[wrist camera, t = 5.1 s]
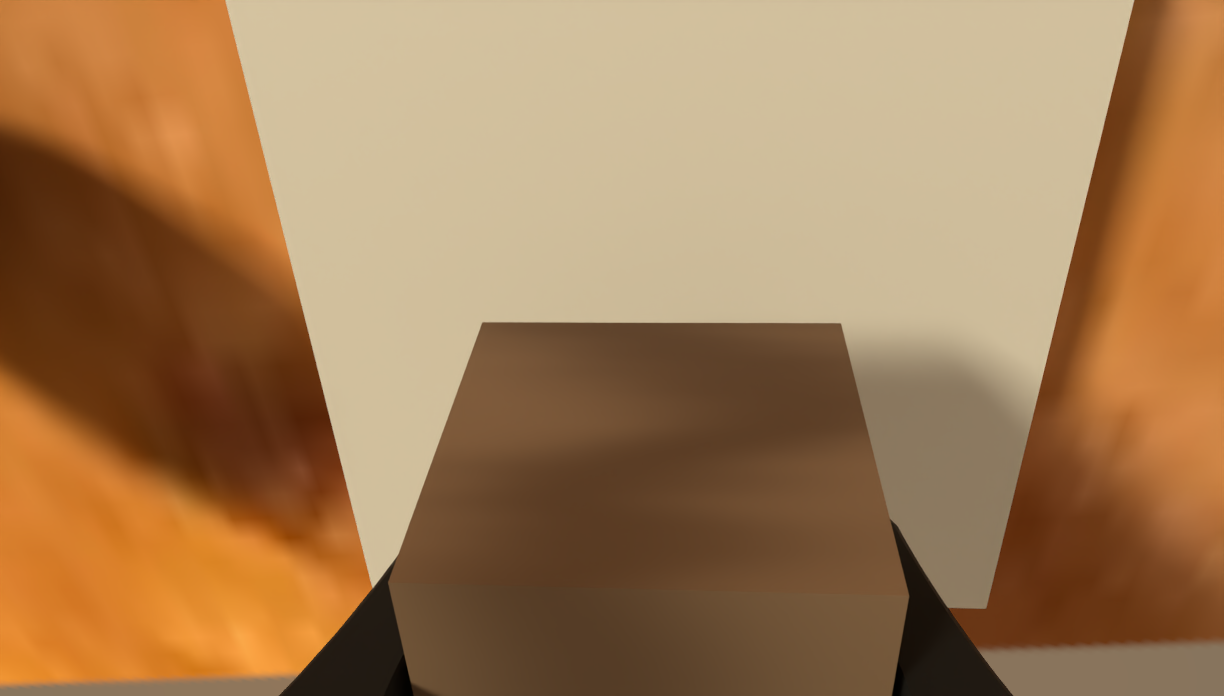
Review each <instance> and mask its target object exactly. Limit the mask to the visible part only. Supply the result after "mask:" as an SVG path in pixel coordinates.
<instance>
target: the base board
mask: <svg viewBox="0 0 1224 696" xmlns="http://www.w3.org/2000/svg"><path fill="white" fill-rule="evenodd" d="M225 1H226V5H227V9H228V13H229V17H230V21H231V25H232V29H233V33H234V37H235V41H236V45H237V49H238V53H239V57H240V61H241V65H242V69H243V73H244V77H245V81H246V85H247V89H248V93H249V97H250V101H251V105H252V109H253V113H254V117H255V121H256V125H257V129H258V133H259V137H260V141H261V145H262V149H263V153H264V157H265V161H266V165H267V169H268V173H269V177H270V181H271V185H272V189H273V193H274V197H275V201H276V205H277V209H278V213H279V217H280V221H281V225H282V229H283V233H284V237H285V241H286V245H287V249H288V253H289V257H290V261H291V265H292V269H293V273H294V277H295V281H296V285H297V289H298V293H299V297H300V301H301V305H302V309H303V313H304V317H305V321H306V325H307V329H308V333H309V337H310V340H311V344H312V348H313V352H314V356H315V360H316V364H317V368H318V372H319V376H320V380H321V384H322V388H323V392H324V396H325V400H326V404H327V408H328V412H329V416H330V420H331V424H332V428H333V432H334V436H335V440H336V444H337V448H338V452H339V456H340V460H341V464H342V468H343V472H344V476H345V480H346V484H347V488H348V492H349V496H350V500H351V504H352V508H353V512H354V516H355V520H356V524H357V528H358V532H359V536H360V540H361V544H362V548H363V552H364V556H365V560H366V564H367V568H368V572H369V576H370V580H371V584H372V588H373V587H374V586H375V585H376V584H377V582H378V581H379V580H380V578H381V577H382V576H383V574H384V573H385V572H386V570H387V569H388V568H389V566H390V565H391V564H392V562H393V561H394V560H395V558H396V557H397V556H398V554H399V551H400V548H401V546H402V543H403V540H404V537H405V535H406V532H407V529H408V526H409V523H410V521H411V518H412V515H413V512H414V510H415V507H416V504H417V501H418V499H419V496H420V493H421V490H422V488H423V485H424V482H425V479H426V477H427V474H428V471H429V468H430V465H431V463H432V460H433V457H434V454H435V452H436V449H437V446H438V443H439V441H440V438H441V435H442V432H443V430H444V427H445V424H446V421H447V419H448V416H449V413H450V410H451V408H452V405H453V402H454V399H455V396H456V394H457V391H458V388H459V385H460V383H461V380H462V377H463V374H464V372H465V369H466V366H467V363H468V361H469V358H470V355H471V352H472V350H473V347H474V344H475V341H476V338H477V336H478V333H479V330H480V327H481V325H482V322H577V323H841V325H842V329H843V333H844V337H845V341H846V345H847V349H848V353H849V357H850V361H851V365H852V369H853V373H854V377H855V381H856V385H857V389H858V393H859V397H860V401H861V405H862V409H863V413H864V417H865V421H866V425H867V429H868V433H869V437H870V441H871V445H872V449H873V453H874V457H875V461H876V465H877V469H878V473H879V477H880V481H881V485H882V489H883V493H884V497H885V501H886V505H887V509H888V513H889V517H890V519H891V520H892V521H893V522H894V523H895V524H896V525H897V526H898V528H899V529H900V531H901V533H902V535H903V537H904V539H905V540H906V542H907V544H908V545H909V547H910V549H911V551H912V552H913V554H914V556H915V557H916V559H917V561H918V562H919V564H920V566H921V567H922V569H923V570H924V572H925V574H926V575H927V577H928V578H929V580H930V582H931V583H932V585H933V586H934V588H935V589H936V591H937V592H938V594H939V596H940V597H941V599H942V600H943V602H944V603H945V605H946V606H947V607H948V608H973V609H986V607H987V603H988V599H989V595H990V591H991V587H992V583H993V578H994V574H995V570H996V566H997V562H998V558H999V554H1000V550H1001V546H1002V541H1003V537H1004V533H1005V529H1006V525H1007V521H1008V517H1009V513H1010V509H1011V504H1012V500H1013V496H1014V492H1015V488H1016V484H1017V480H1018V476H1019V472H1020V467H1021V463H1022V459H1023V455H1024V451H1025V447H1026V443H1027V439H1028V435H1029V430H1030V426H1031V422H1032V418H1033V414H1034V410H1035V406H1036V402H1037V398H1038V394H1039V389H1040V385H1041V381H1042V377H1043V373H1044V369H1045V365H1046V361H1047V357H1048V352H1049V348H1050V344H1051V340H1052V336H1053V332H1054V328H1055V324H1056V320H1057V315H1058V311H1059V307H1060V303H1061V299H1062V295H1063V291H1064V287H1065V283H1066V278H1067V274H1068V270H1069V266H1070V262H1071V258H1072V254H1073V250H1074V246H1075V241H1076V237H1077V233H1078V229H1079V225H1080V221H1081V217H1082V213H1083V209H1084V204H1085V200H1086V196H1087V192H1088V188H1089V184H1090V180H1091V176H1092V172H1093V168H1094V163H1095V159H1096V155H1097V151H1098V147H1099V143H1100V139H1101V135H1102V131H1103V126H1104V122H1105V118H1106V114H1107V110H1108V106H1109V102H1110V98H1111V94H1112V89H1113V85H1114V81H1115V77H1116V73H1117V69H1118V65H1119V61H1120V57H1121V52H1122V48H1123V44H1124V40H1125V36H1126V32H1127V28H1128V24H1129V20H1130V15H1131V11H1132V7H1133V3H1134V0H225Z"/></svg>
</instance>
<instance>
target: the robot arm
mask: <svg viewBox="0 0 1224 696" xmlns="http://www.w3.org/2000/svg"><path fill="white" fill-rule="evenodd" d="M890 521H891V525H892V529H893V533H894V537H895V541H896V545H897V549H898V553H899V557H900V561H901V565H902V569H903V573H904V577H905V581H906V585H907V589H908V593H909V600H908V606H907V611H906V617H905V623H904V628H903V634H902V640H901V646H900V651H899V657H898V663H897V668H896V674H895V680H894V686H893V691H892V696H1013V695H1012V694H1011V693H1010V691H1009V690H1008V689H1007V688H1006V686H1005V685H1004V684H1003V683H1002V681H1001V680H1000V679H999V678H998V676H997V675H996V674H995V673H994V671H993V670H992V669H991V667H990V666H989V665H988V663H987V662H986V661H985V659H984V658H983V657H982V655H981V654H980V653H979V651H978V650H977V648H976V647H975V646H974V644H973V643H972V641H971V640H970V639H969V637H968V636H967V634H966V633H965V632H964V630H963V629H962V627H961V626H960V625H959V623H958V622H957V620H956V619H955V618H954V616H953V615H952V613H951V612H950V610H949V609H948V607H947V606H946V605H945V603H944V602H943V600H942V599H941V597H940V596H939V594H938V592H937V591H936V589H935V588H934V586H933V585H932V583H931V582H930V580H929V578H928V577H927V575H926V574H925V572H924V570H923V569H922V567H921V566H920V564H919V562H918V561H917V559H916V557H915V556H914V554H913V552H912V551H911V549H910V547H909V545H908V544H907V542H906V540H905V539H904V537H903V535H902V533H901V531H900V529H899V528H898V526H897V525H896V524H895V523H894V522H893V521H892V520H891V519H890ZM397 557H398V556H397ZM397 557H396V558H395V560H394V561H393V562H392V564H391V565H390V566H389V568H388V569H387V570H386V572H385V573H384V574H383V576H382V577H381V578H380V580H379V581H378V582H377V584H376V585H375V586H374V587H373V589H372V590H371V591H370V592H369V594H368V595H367V596H366V597H365V599H364V600H363V601H362V602H361V603H360V605H359V606H358V607H357V608H356V610H355V611H354V612H353V613H352V615H351V616H350V617H349V618H348V620H347V621H346V622H345V623H344V625H343V626H342V627H341V628H340V629H339V630H338V632H337V633H336V634H335V635H334V636H333V637H332V638H331V640H330V641H329V642H328V643H327V644H326V645H325V646H324V647H323V649H322V650H321V651H320V652H319V653H318V654H317V655H316V656H315V657H314V659H313V660H312V661H311V662H310V663H309V664H308V665H307V666H306V668H305V669H304V670H303V671H302V672H301V673H300V674H299V675H298V676H297V677H296V679H295V680H294V681H293V682H292V683H291V684H290V685H289V686H288V687H287V688H286V689H285V690H284V691H283V692H282V693H281V694H280V695H279V696H414V695H413V690H412V686H411V682H410V677H409V673H408V668H407V664H406V660H405V655H404V651H403V646H402V642H401V637H400V633H399V629H398V624H397V620H396V615H395V611H394V607H393V602H392V598H391V593H390V589H389V585H388V581H389V579H390V576H391V573H392V570H393V568H394V565H395V562H396V559H397Z"/></svg>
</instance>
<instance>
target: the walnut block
mask: <svg viewBox="0 0 1224 696" xmlns="http://www.w3.org/2000/svg"><path fill="white" fill-rule="evenodd" d="M388 585H389V589H390V593H391V598H392V602H393V607H394V611H395V615H396V620H397V624H398V629H399V633H400V637H401V642H402V646H403V651H404V655H405V660H406V664H407V668H408V673H409V677H410V682H411V686H412V690H413V695H414V696H892V691H893V686H894V680H895V674H896V668H897V663H898V657H899V651H900V646H901V640H902V634H903V628H904V623H905V617H906V611H907V606H908V600H909V593H908V589H907V585H906V581H905V577H904V573H903V569H902V565H901V561H900V557H899V553H898V549H897V545H896V541H895V537H894V533H893V529H892V525H891V521H890V517H889V513H888V509H887V505H886V501H885V497H884V493H883V489H882V485H881V481H880V477H879V473H878V469H877V465H876V461H875V457H874V453H873V449H872V445H871V441H870V437H869V433H868V429H867V425H866V421H865V417H864V413H863V409H862V405H861V401H860V397H859V393H858V389H857V385H856V381H855V377H854V373H853V369H852V365H851V361H850V357H849V353H848V349H847V345H846V341H845V337H844V333H843V329H842V325H841V323H577V322H482V325H481V327H480V330H479V333H478V336H477V338H476V341H475V344H474V347H473V350H472V352H471V355H470V358H469V361H468V363H467V366H466V369H465V372H464V374H463V377H462V380H461V383H460V385H459V388H458V391H457V394H456V396H455V399H454V402H453V405H452V408H451V410H450V413H449V416H448V419H447V421H446V424H445V427H444V430H443V432H442V435H441V438H440V441H439V443H438V446H437V449H436V452H435V454H434V457H433V460H432V463H431V465H430V468H429V471H428V474H427V477H426V479H425V482H424V485H423V488H422V490H421V493H420V496H419V499H418V501H417V504H416V507H415V510H414V512H413V515H412V518H411V521H410V523H409V526H408V529H407V532H406V535H405V537H404V540H403V543H402V546H401V548H400V551H399V554H398V557H397V559H396V562H395V565H394V568H393V570H392V573H391V576H390V579H389V581H388Z"/></svg>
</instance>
